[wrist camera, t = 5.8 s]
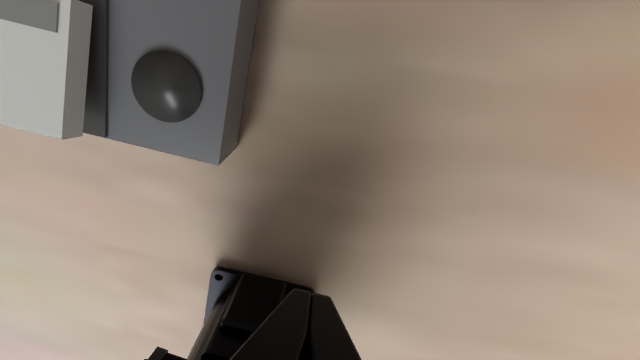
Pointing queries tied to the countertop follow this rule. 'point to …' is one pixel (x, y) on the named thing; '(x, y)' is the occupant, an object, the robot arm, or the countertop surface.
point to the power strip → (170, 74)
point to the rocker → (44, 65)
